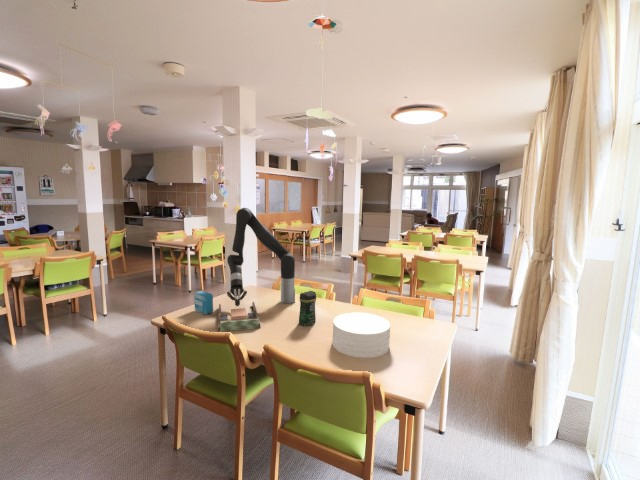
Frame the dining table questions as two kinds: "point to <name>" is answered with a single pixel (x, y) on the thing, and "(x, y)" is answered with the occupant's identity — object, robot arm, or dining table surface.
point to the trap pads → (250, 315)
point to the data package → (203, 302)
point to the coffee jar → (307, 308)
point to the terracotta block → (238, 314)
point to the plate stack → (361, 334)
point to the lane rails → (239, 322)
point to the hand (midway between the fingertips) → (237, 305)
